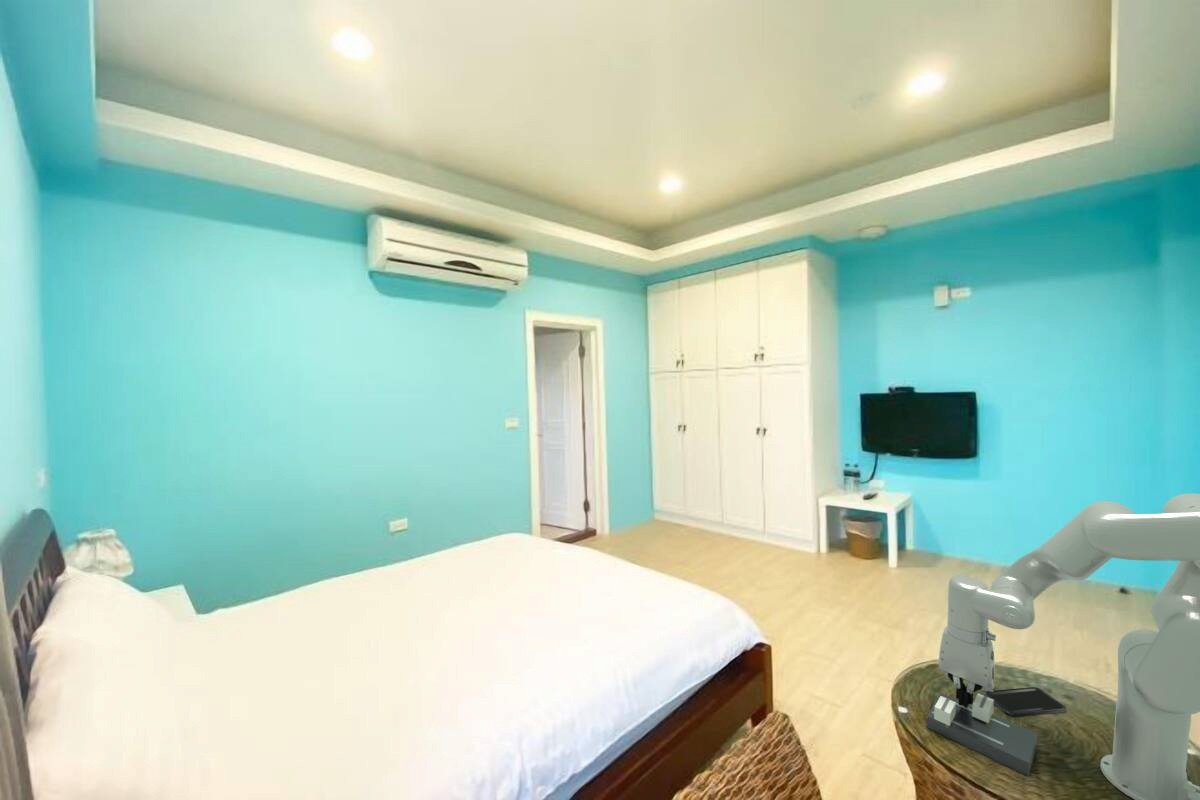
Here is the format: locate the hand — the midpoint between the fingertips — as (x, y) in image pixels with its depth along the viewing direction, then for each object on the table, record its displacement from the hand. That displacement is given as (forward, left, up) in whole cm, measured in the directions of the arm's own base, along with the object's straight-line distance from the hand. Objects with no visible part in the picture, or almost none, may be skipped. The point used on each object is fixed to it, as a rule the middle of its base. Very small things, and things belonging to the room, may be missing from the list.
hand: (964, 703), depth 115 cm
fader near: (+2, +7, -1) cm, 7 cm away
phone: (-9, -16, -5) cm, 19 cm away
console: (-4, +4, -4) cm, 7 cm away
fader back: (-3, 0, -1) cm, 4 cm away
